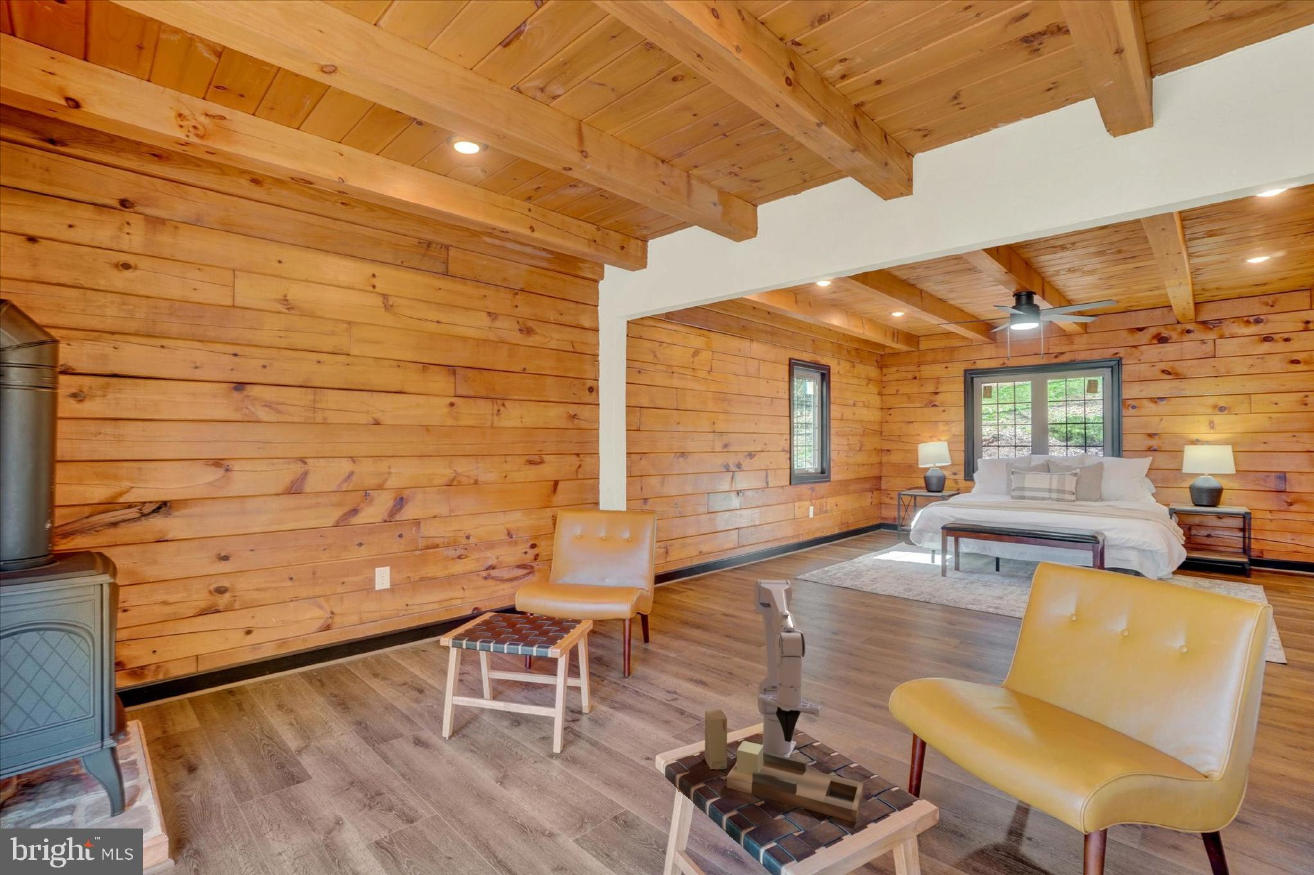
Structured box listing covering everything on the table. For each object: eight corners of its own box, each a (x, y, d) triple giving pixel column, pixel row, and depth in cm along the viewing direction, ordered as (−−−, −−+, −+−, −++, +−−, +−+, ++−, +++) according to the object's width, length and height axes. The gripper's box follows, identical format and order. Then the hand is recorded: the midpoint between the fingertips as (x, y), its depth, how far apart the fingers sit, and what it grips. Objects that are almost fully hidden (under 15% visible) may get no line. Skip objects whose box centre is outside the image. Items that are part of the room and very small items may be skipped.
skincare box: (727, 769, 150) (728, 719, 150) (710, 770, 149) (711, 720, 149) (720, 756, 156) (721, 708, 156) (704, 757, 156) (704, 709, 156)
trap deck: (742, 763, 153) (742, 745, 153) (863, 793, 140) (863, 774, 141) (726, 787, 142) (726, 767, 142) (856, 822, 130) (856, 801, 130)
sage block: (743, 761, 149) (743, 740, 149) (763, 766, 147) (763, 745, 147) (736, 770, 145) (737, 749, 145) (757, 776, 143) (757, 754, 143)
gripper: (755, 683, 146) (754, 740, 146) (816, 694, 140) (816, 754, 139) (763, 673, 152) (762, 728, 152) (822, 684, 146) (821, 741, 146)
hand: (788, 739), depth 146 cm, fingers closed
